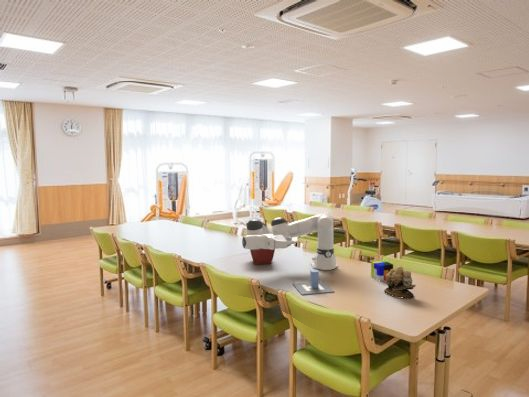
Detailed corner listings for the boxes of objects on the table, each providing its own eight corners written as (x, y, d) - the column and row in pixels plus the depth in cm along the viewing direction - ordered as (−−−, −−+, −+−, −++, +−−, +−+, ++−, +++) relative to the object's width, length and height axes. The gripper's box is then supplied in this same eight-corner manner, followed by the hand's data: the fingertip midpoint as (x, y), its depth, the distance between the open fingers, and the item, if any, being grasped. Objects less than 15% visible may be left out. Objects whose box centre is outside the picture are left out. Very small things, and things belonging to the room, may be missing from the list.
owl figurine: (419, 295, 224) (419, 266, 222) (410, 301, 215) (411, 271, 213) (389, 288, 236) (389, 260, 234) (380, 293, 228) (380, 265, 226)
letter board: (292, 284, 246) (292, 283, 246) (322, 281, 250) (322, 280, 250) (301, 295, 226) (301, 294, 226) (334, 292, 230) (334, 291, 230)
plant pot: (272, 258, 309) (272, 237, 307) (276, 265, 290) (276, 242, 288) (248, 259, 306) (248, 238, 305) (250, 266, 288) (250, 243, 286)
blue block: (310, 286, 240) (310, 270, 239) (316, 285, 241) (316, 269, 240) (312, 288, 236) (312, 272, 235) (318, 287, 237) (318, 271, 236)
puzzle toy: (379, 281, 250) (379, 265, 249) (370, 276, 259) (371, 261, 258) (392, 279, 252) (393, 264, 251) (384, 275, 262) (384, 260, 261)
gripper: (268, 242, 243) (290, 241, 244) (271, 250, 223) (295, 249, 224) (267, 232, 242) (289, 232, 244) (271, 239, 222) (295, 238, 224)
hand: (292, 240), depth 234 cm, fingers open, 8 cm apart
